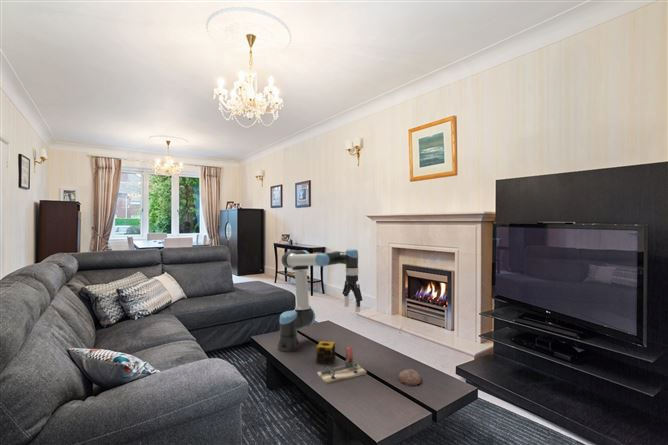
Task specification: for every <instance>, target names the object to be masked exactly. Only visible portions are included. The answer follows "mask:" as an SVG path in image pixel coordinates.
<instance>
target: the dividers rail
mask: <svg viewBox="0 0 668 445" xmlns="http://www.w3.org/2000/svg"><path fill="white" fill-rule="evenodd" d="M358 365H359V364H358V362H354V366H358ZM351 367H352V366H351V365H349V366H347V365H346V364H342V365H340V366H339V365H338V366H334V367H331V368H330V366H326V367H325V369H322V370H320V371H321V374H326V373H331V374H332V378H334V375H335V373H334V372H335V371H339V370H343V369H347V368H351Z"/></svg>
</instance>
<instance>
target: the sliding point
mask: <svg viewBox="0 0 668 445" xmlns="http://www.w3.org/2000/svg"><path fill="white" fill-rule="evenodd" d="M354 363H355V361H354V347H353V346H352V345H346V346H345V360H344V365H347V366H349V365H351V366H352V367H353V368H354V369H355V372H356V370H357V367H356V366H354Z"/></svg>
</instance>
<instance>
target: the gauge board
mask: <svg viewBox="0 0 668 445" xmlns="http://www.w3.org/2000/svg"><path fill="white" fill-rule="evenodd" d="M356 367H357V370H356V372H355V369H354V368H353V367H351V368H347V369H343V370H339V371H335V372H334V373H335V375H334V378H332V374H331V373H326V374H321V370H320V371H317V376H318V377H319V378H320V379H321V380H322V381H323V383H325V384H326V385H328V384H331V383H336V382H340V381H344V380H347V379H351V378H354V377H359V376H362V375H363V376H364V375H367V373H368V372H367V370H366V369H364V368H363V367H362V366H360V365H359V364H358V366H356Z"/></svg>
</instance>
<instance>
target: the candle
mask: <svg viewBox="0 0 668 445" xmlns="http://www.w3.org/2000/svg"><path fill="white" fill-rule="evenodd" d="M315 348H316V359H315V361H316V362H315V363H316V364H322V365H323V364H328V365H333V364H334V361H335V359H336V342H335V341H328V340H327V341H325V340H320V341H319V342H318V344H317V345H316V347H315Z"/></svg>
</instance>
